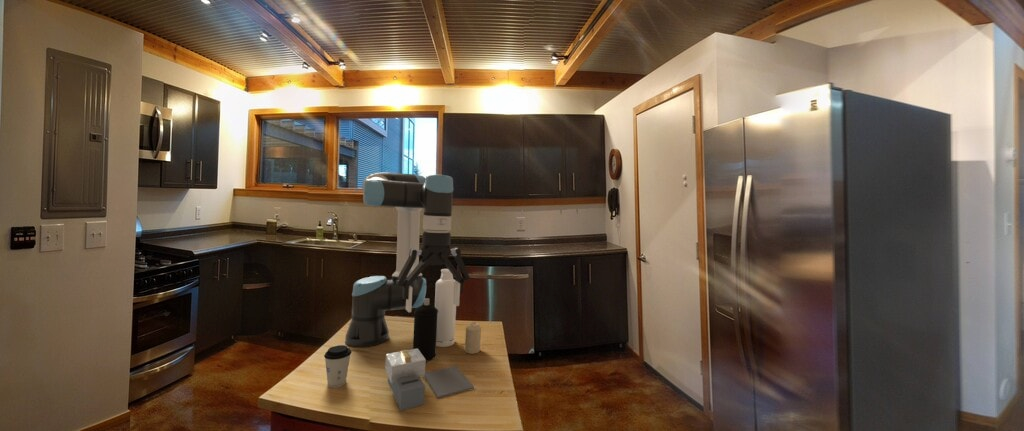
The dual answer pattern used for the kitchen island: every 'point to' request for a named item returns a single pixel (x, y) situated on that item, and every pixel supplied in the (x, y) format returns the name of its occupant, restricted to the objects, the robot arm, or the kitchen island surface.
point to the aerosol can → (425, 330)
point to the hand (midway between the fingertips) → (433, 307)
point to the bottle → (445, 309)
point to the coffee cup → (337, 365)
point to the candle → (473, 338)
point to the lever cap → (405, 365)
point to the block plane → (408, 393)
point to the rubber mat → (447, 381)
